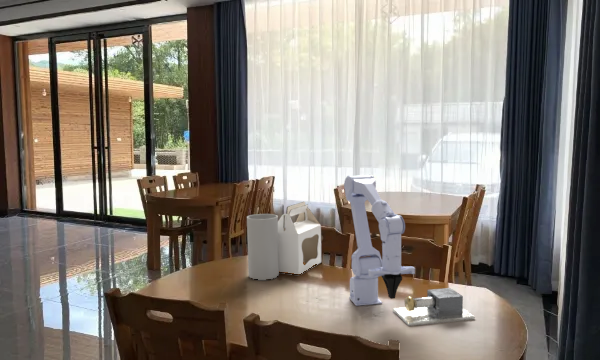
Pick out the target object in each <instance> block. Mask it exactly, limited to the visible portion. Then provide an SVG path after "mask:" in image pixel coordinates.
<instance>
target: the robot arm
mask: <svg viewBox="0 0 600 360" xmlns="http://www.w3.org/2000/svg"><path fill="white" fill-rule="evenodd" d="M343 187H344V193H345V199H346V201H348V203H349V204H350V208H351V209H350V210H351V214H352V221H353V226H354V231H355V232H354V233H355V239H356V244H357V248H356V250H355V251H354V252H353V253H352V254H351V271H352V273H353V275H354V276H351V277H350V279H349V298H348V299H350V300H351V302H353V304H354V305H355V306H356V307H358V306H368V305H369V306H370V305H379V304H383V302H382V300H381V299H380V298H379V277H381V278H382V280H383V282H384V285H385V288H386V290H387V295H388V298H389V299H390V300H392V299H393V300H394V299H396V294H397V291H398V289H399V286H400V284H401V283H402V280H403V275H405V274H406V275H408V274H411V275H415V274H416V273H415V272H416V268H415V267H414V266H411V265H410V266H404V265H403V266H402V235H403V234H405V230H406V223H405V222H406V221H405V220H404V218H403V216H402V215H399V214H397V213H395V212H394V210H393V209H392V208H391V205H389V203H388V202H387V201H386V200H384V199H382V198H381V196H380V194H379V192H378V191H377V189H376V188H377V181H376V178H375V177H374V176H373V174H366V175H365V174H364V175H347V176H346V177H345V179H344V183H343ZM366 201H368V202H369V204H370V205H371V212H372V214H373V215H374V217H375V219H376V220H377V222H378V230H379V233H380V234H379V235H380V240H381V242H382V243H381V246H382V247H381V249H382V252H381V253H382V255H381V253H380V251H379V250H377V249H376V248H375V247H373V244H372V243H373V242H372V239H371V231H370V227H369V221H368V216H367V215H368V214H367V209H366Z"/></svg>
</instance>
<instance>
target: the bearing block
mask: <svg viewBox="0 0 600 360" xmlns="http://www.w3.org/2000/svg"><path fill="white" fill-rule="evenodd" d="M426 291H427V292H426V293H427V295H426V297H436V306H433V307H422V308H415V309H414V311H407V309H406V307H405V306H404V307H394V308H392V310H393V311H392V312H393V313H394V314H396V315H397V317H399V319H400V320H402V322H404V323H405V324H406V325H407V326H408V327H413V326H422V325H432V324H441V323H442V324H443V323H451V322H452V323H453V322H460V321H461V322H463V321H471V320H476V319H475V317H476V316H475V315H473V314H472V313H471V312H470V311H468V310H466V309H465V308H464V306H463V305H464V304H463V303H464V302H463V300H464V298H463V295H462V294H460V293H458V292H457V291H456V290H454V289H452V288H450V287H446V288H444V287H443V288H434V289H433V288H432V289H427V290H426Z"/></svg>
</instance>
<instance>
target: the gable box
mask: <svg viewBox="0 0 600 360" xmlns="http://www.w3.org/2000/svg"><path fill="white" fill-rule="evenodd" d="M308 206H309V204H306V202H305V201H302V202H298V203H295V204H292V205H291V204H290V205H288V206H287V207H286V212H285V213H283V214H282V215H281V216H280V218H278V254H279V271H280V272H288V273H294V274H301V273H302V274H304V273H305V272H304V271H306V270H307V271H309V270H310V269H309V268H311V267H312V266H313V265H315V264H317V265H319V264H321V263H322V225H321V223H320V222H319V220H318V219H317V217H316V216H315V215H314V213H313V212H312V210H311V209H310V208H308ZM296 215H298V217H297V218H296V221H295V222H293V219H292V217H294V216H296ZM303 262H305V263H306V264H305V265H304V264H303ZM312 268H313V267H312ZM312 268H311V269H312ZM308 269H309V270H308ZM307 271H306V272H307ZM303 272H304V273H303ZM302 274H301V275H302Z"/></svg>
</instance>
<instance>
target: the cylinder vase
mask: <svg viewBox="0 0 600 360" xmlns="http://www.w3.org/2000/svg"><path fill="white" fill-rule="evenodd" d="M278 217H279V216H278V215H276V214H273V213H259V214H249V215H247V216H246V228H247V229H246V232H247V235H246V237H247V238H246V239H247V262H248V263H247V265H248V267H247V268H248V270H247V272H248V278H249V279H251V278H253V279H252V280H254V279H258V280H257V281H267V280H266V279H271V280H274V279H277V278H278V277H279V274H280V273H279V254H278V221H279V218H278ZM277 276H278V277H277ZM273 278H274V279H273Z"/></svg>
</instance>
